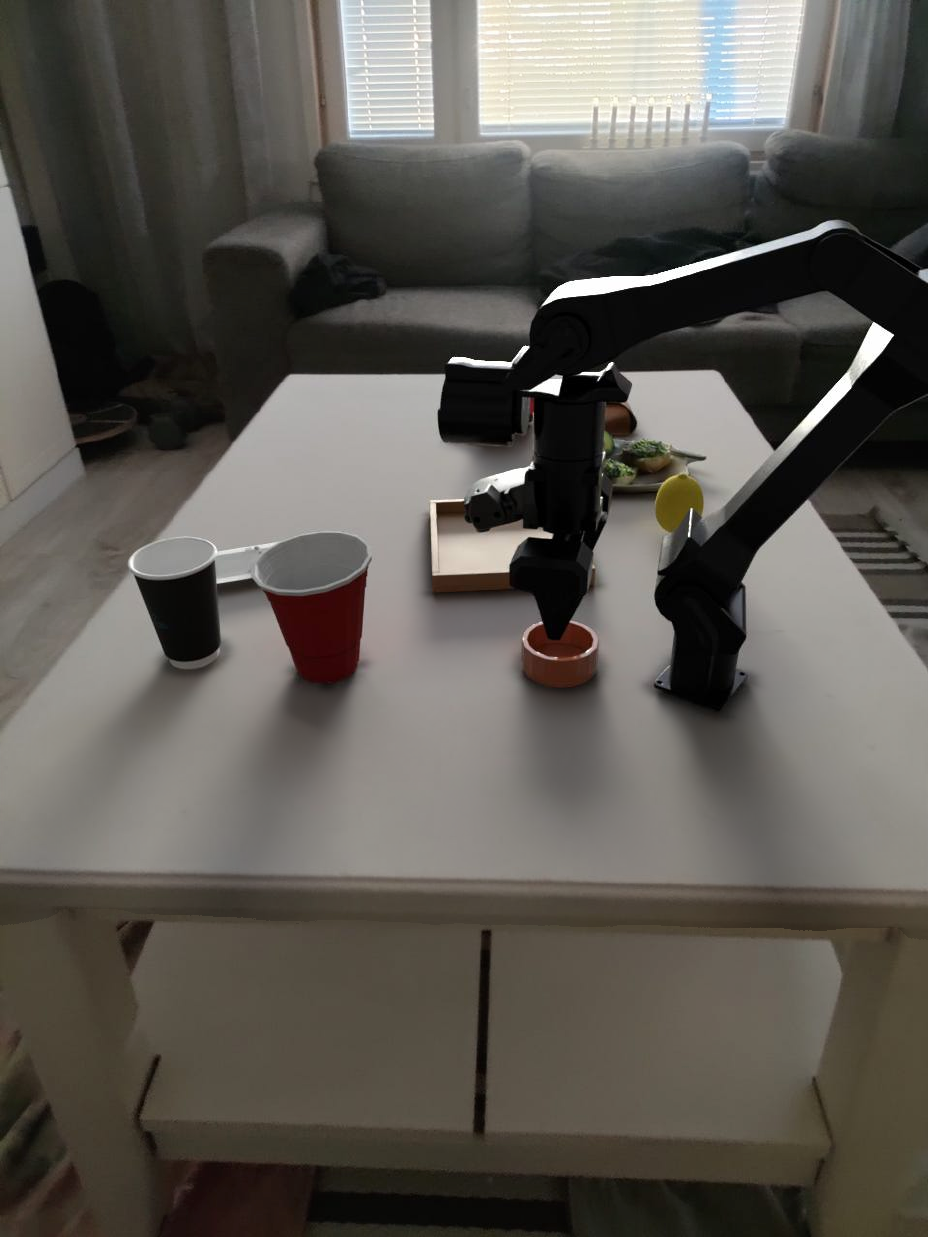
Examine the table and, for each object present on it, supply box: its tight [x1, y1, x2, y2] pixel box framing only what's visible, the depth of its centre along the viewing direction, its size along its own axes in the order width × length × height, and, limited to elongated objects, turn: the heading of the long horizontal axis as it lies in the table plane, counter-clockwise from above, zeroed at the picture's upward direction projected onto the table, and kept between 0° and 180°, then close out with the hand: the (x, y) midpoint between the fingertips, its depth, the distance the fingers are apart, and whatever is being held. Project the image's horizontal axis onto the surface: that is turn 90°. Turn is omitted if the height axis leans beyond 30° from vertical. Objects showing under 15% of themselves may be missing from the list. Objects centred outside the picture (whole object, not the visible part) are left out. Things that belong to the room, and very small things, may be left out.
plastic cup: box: [251, 530, 373, 685], centre depth 81 cm, size 11×11×12 cm
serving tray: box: [428, 498, 596, 593], centre depth 104 cm, size 20×18×2 cm
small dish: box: [520, 620, 600, 689], centre depth 83 cm, size 7×7×3 cm
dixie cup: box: [127, 536, 222, 670], centre depth 84 cm, size 8×8×11 cm
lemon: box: [654, 473, 705, 534], centre depth 104 cm, size 6×6×8 cm
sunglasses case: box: [604, 400, 638, 437], centre depth 142 cm, size 18×7×7 cm
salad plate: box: [602, 430, 707, 494], centre depth 122 cm, size 19×18×5 cm
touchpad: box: [215, 541, 279, 585], centre depth 101 cm, size 8×15×2 cm, turn 108°
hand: (562, 611), depth 80 cm, fingers open, 9 cm apart
